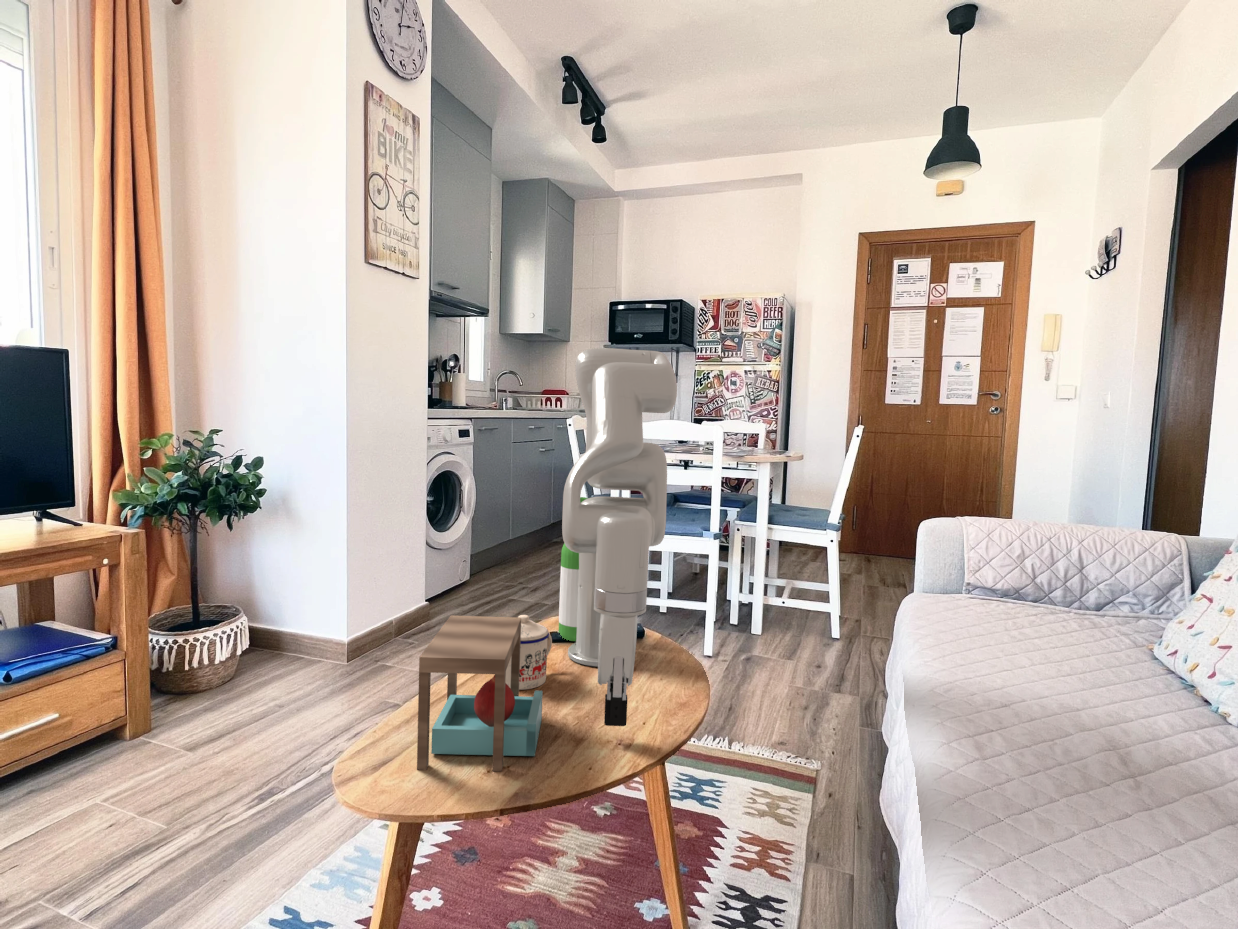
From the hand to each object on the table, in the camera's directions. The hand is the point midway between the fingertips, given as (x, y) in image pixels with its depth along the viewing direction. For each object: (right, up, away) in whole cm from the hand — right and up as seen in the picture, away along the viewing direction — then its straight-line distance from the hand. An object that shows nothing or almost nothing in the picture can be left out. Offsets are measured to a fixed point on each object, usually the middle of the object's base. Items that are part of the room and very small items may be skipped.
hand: (615, 723), depth 94 cm
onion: (-18, -1, 0) cm, 18 cm away
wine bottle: (-9, 0, +45) cm, 46 cm away
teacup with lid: (-16, -1, +22) cm, 27 cm away
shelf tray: (-18, -2, 0) cm, 18 cm away
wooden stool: (-21, -2, 0) cm, 21 cm away
